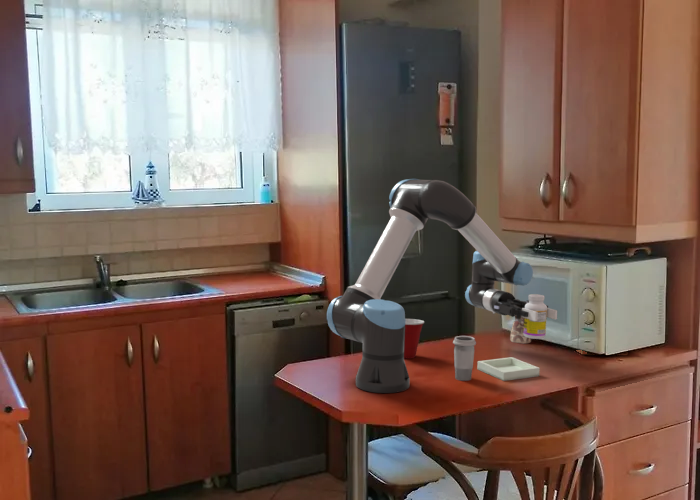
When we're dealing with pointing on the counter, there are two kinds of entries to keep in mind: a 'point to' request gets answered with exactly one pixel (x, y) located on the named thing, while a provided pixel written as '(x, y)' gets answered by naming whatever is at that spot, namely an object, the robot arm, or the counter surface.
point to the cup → (463, 357)
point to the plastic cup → (412, 337)
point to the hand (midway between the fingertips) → (546, 315)
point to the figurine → (518, 331)
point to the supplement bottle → (538, 327)
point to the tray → (508, 368)
